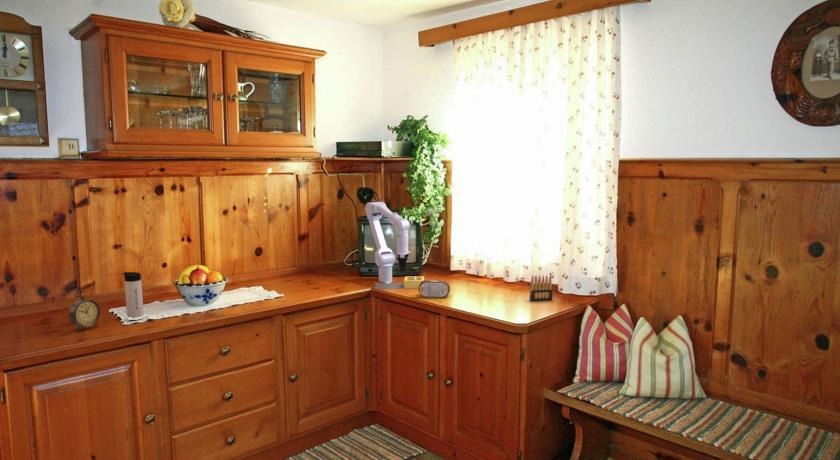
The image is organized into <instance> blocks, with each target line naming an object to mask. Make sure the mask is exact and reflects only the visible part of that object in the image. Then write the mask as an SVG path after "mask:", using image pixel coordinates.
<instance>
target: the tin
mask: <svg viewBox="0 0 840 460" xmlns="http://www.w3.org/2000/svg"><path fill="white" fill-rule="evenodd" d="M418 292H419V294H420V296H422V297H424V298H426V299H427V298H428V299H429V298H432V299H443V298H446V297H447V296H449V294H450V292H451V287H450V284H449V283H448V282H447V281H446V280H443V279H424V281H422V282H421V283H420V285H419V289H418Z"/></svg>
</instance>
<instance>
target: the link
mask: <svg viewBox="0 0 840 460" xmlns="http://www.w3.org/2000/svg"><path fill="white" fill-rule="evenodd" d="M414 277H415V278H417V280H412V278H414ZM424 280H425V276H404V280H403V283H404V288H419V285H420V283H421V282H422V281H424Z"/></svg>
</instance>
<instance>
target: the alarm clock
mask: <svg viewBox="0 0 840 460" xmlns="http://www.w3.org/2000/svg"><path fill="white" fill-rule="evenodd" d="M81 291H84V295H80V292H81ZM86 294H87V291H86V289H84V288H81V289H79V290H78V292H77V295H78V297H80V299H78V300H76V301H74V302H73V303H72V304H71V305H70V307H69V309H68V319H69V322H70V323H71V324H72V325H73V326H75V327H76V331H78V332H79V330H80V328H81V327H82V328H90V327H92V326H94V325H95V326H96V325H98V323H97V322H98V321H99V320H100V316H101V307H100V305H99V304H98V302H97V301H95V300H93V299H89V298H87V299H86V298H84V297H85V296H86Z"/></svg>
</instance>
